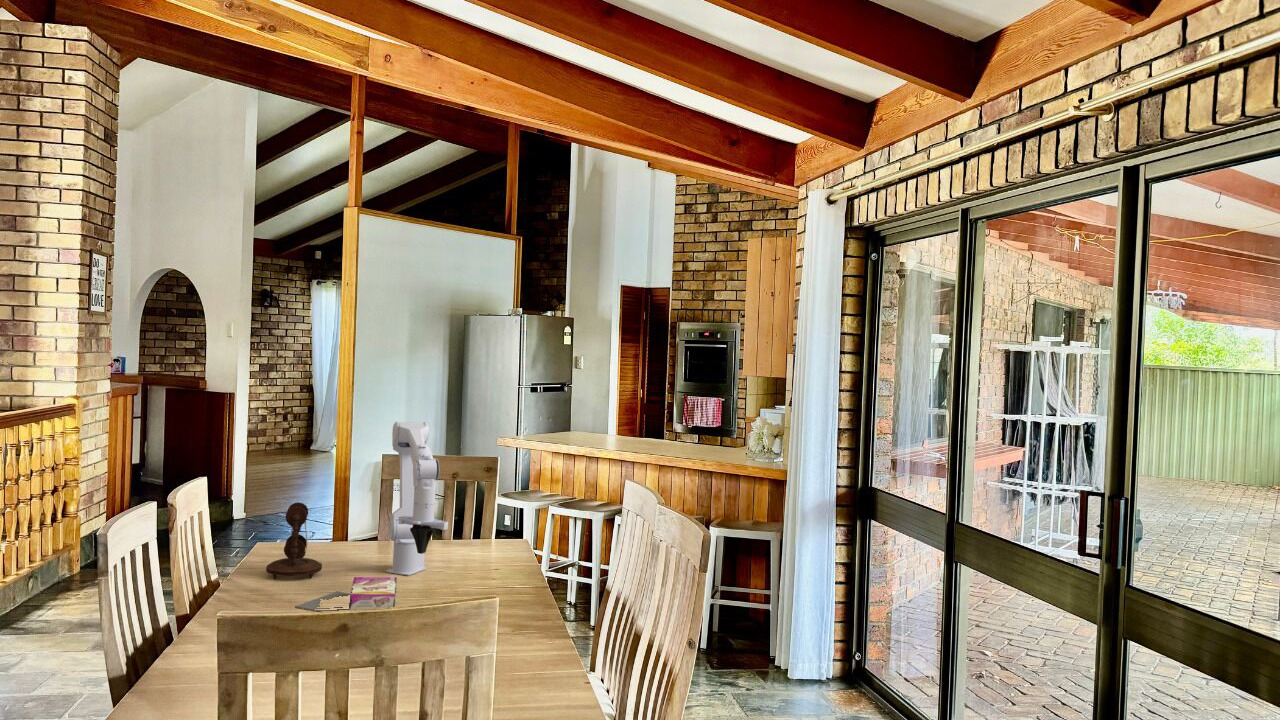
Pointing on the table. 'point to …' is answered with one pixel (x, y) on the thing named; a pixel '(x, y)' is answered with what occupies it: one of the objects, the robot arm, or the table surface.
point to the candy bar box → (373, 592)
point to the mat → (315, 603)
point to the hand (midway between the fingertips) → (421, 552)
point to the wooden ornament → (295, 548)
